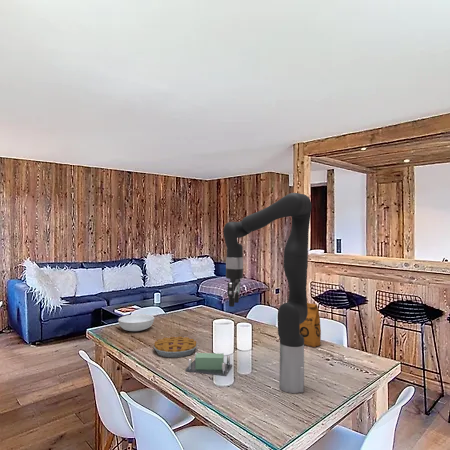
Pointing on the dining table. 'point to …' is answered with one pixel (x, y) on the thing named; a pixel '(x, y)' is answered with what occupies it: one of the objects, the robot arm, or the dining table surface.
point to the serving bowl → (136, 322)
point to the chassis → (222, 372)
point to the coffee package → (311, 327)
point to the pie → (175, 346)
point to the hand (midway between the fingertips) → (234, 304)
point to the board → (209, 361)
